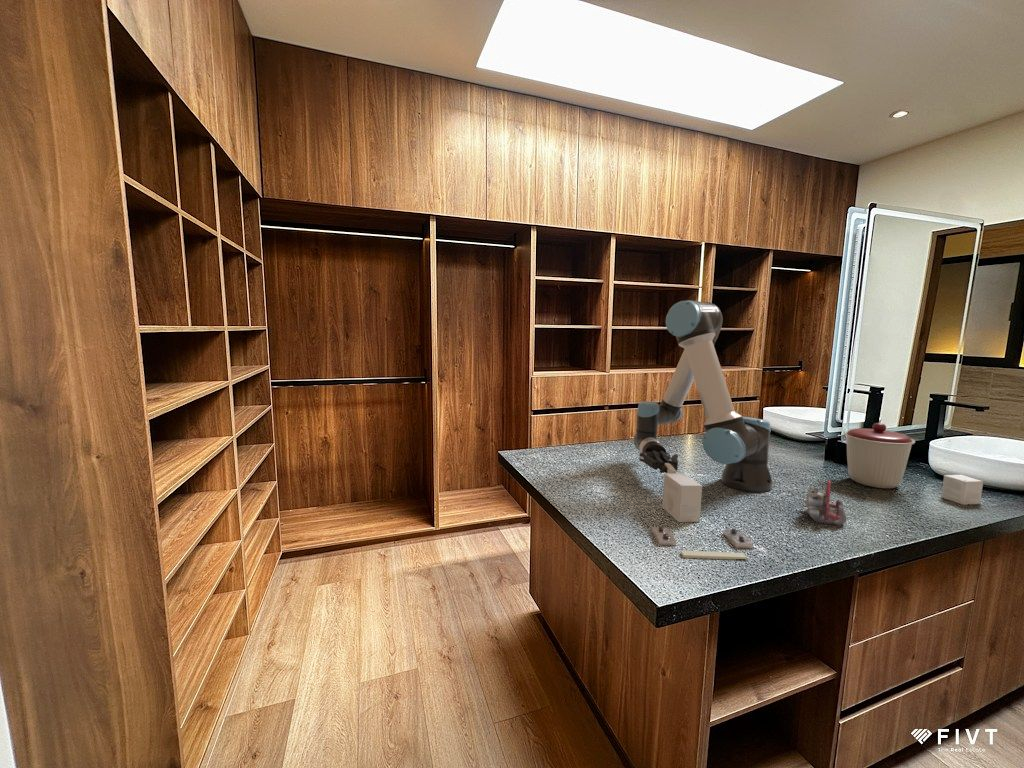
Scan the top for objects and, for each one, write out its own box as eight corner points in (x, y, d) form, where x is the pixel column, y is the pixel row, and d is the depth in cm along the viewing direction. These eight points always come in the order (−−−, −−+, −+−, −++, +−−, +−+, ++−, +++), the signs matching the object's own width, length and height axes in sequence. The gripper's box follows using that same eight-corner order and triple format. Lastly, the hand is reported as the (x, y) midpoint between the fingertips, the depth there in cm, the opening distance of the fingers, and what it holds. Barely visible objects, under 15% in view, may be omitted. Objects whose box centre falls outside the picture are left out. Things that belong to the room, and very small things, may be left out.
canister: (905, 497, 131) (913, 432, 129) (834, 482, 145) (839, 422, 142) (912, 484, 143) (919, 423, 141) (846, 471, 157) (851, 415, 154)
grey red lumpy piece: (860, 524, 107) (828, 483, 110) (815, 540, 113) (786, 500, 116) (855, 509, 117) (826, 471, 120) (814, 524, 122) (787, 487, 125)
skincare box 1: (701, 522, 114) (703, 485, 113) (678, 522, 114) (680, 485, 113) (682, 506, 125) (684, 472, 124) (661, 507, 124) (663, 472, 123)
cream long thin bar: (742, 555, 97) (742, 552, 97) (746, 559, 95) (747, 557, 95) (680, 553, 98) (680, 550, 98) (683, 557, 96) (683, 555, 96)
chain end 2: (739, 534, 107) (739, 527, 107) (753, 548, 100) (753, 541, 100) (723, 533, 108) (723, 527, 107) (735, 547, 101) (736, 540, 100)
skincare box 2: (981, 504, 126) (984, 481, 125) (962, 505, 126) (965, 481, 125) (958, 496, 132) (961, 474, 131) (940, 497, 132) (943, 474, 131)
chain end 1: (667, 531, 109) (667, 525, 108) (676, 545, 102) (676, 538, 101) (651, 531, 109) (652, 524, 109) (659, 544, 102) (659, 537, 102)
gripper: (670, 462, 149) (694, 487, 125) (633, 460, 150) (650, 485, 126) (672, 441, 148) (696, 463, 124) (634, 440, 148) (651, 461, 125)
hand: (673, 474), depth 125 cm, fingers closed
